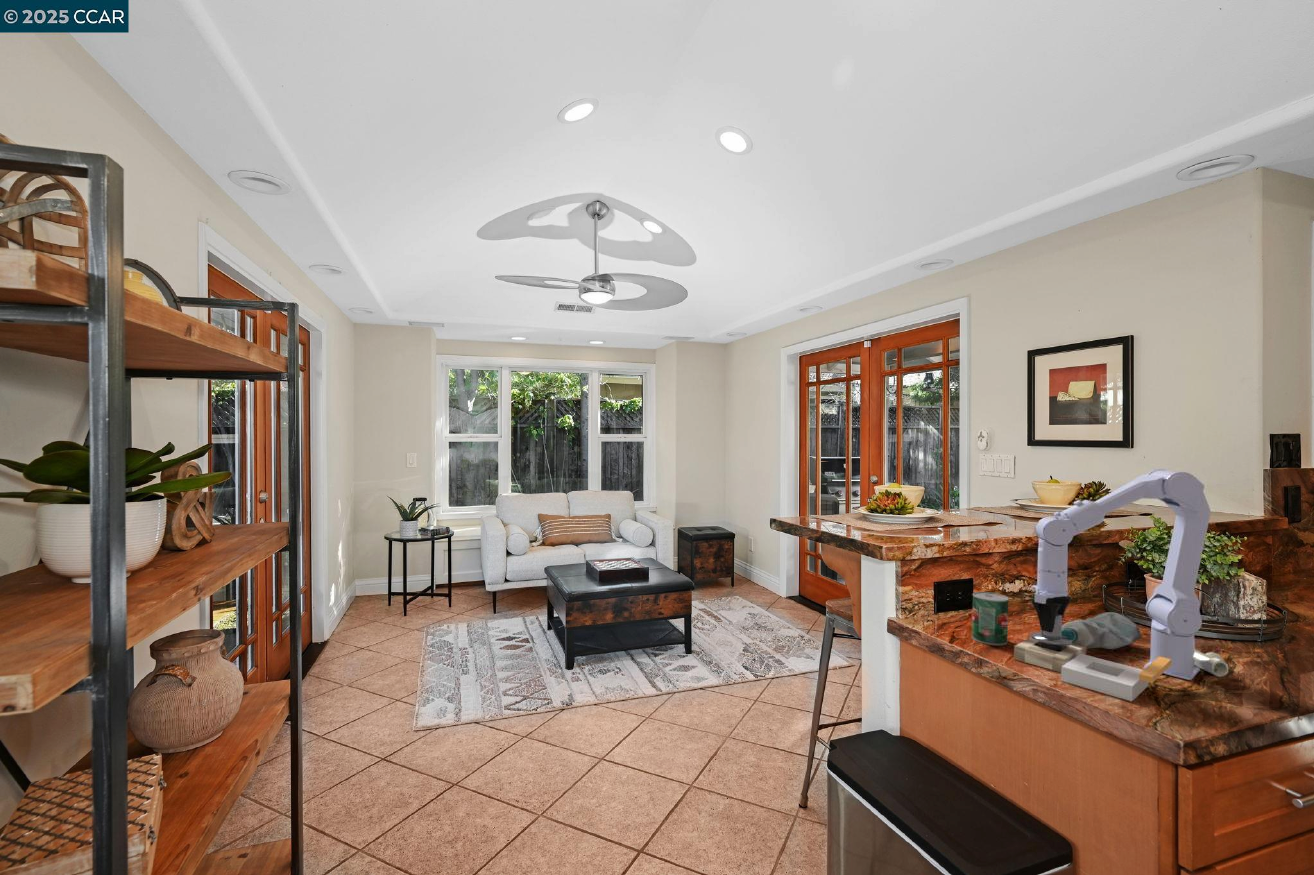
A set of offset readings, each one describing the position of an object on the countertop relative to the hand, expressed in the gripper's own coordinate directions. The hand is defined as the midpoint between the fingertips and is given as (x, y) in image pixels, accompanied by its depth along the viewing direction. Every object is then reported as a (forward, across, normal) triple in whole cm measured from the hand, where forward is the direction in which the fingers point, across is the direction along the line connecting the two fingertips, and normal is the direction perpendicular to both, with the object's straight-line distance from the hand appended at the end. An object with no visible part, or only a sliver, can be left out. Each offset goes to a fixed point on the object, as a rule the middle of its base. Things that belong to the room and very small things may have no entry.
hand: (1050, 629), depth 139 cm
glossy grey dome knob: (+6, 0, 0) cm, 6 cm away
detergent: (+6, -17, +4) cm, 18 cm away
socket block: (+7, +6, +12) cm, 15 cm away
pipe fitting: (+7, -22, +24) cm, 34 cm away
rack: (+7, 0, 0) cm, 7 cm away
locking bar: (+3, +3, +20) cm, 20 cm away
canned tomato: (+7, -2, -14) cm, 16 cm away
